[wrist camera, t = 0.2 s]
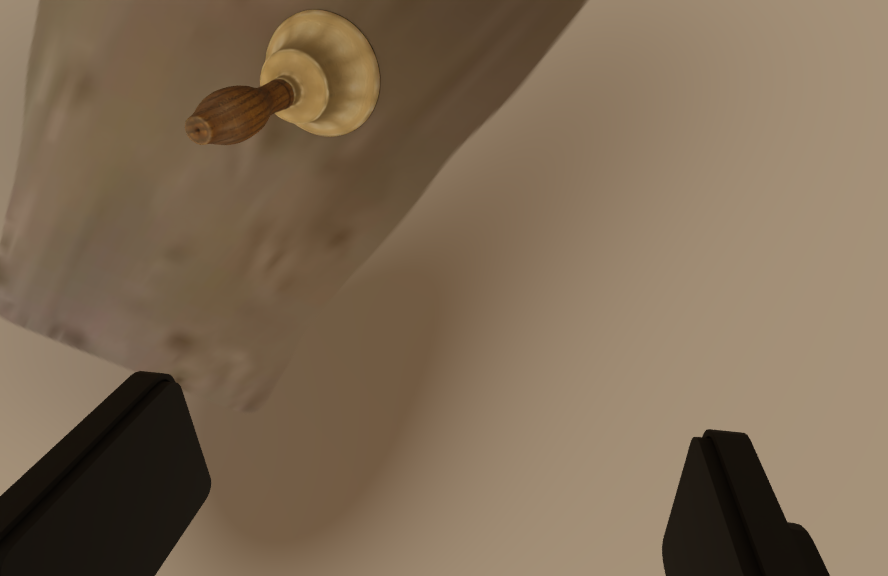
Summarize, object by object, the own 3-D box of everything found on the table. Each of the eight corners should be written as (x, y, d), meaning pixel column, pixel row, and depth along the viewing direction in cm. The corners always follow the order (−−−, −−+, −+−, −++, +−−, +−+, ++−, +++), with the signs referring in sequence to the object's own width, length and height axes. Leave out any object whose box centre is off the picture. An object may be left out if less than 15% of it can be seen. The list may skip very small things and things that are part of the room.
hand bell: (403, 68, 36) (316, 115, 23) (339, 158, 40) (231, 245, 27) (304, -20, 35) (145, -27, 21) (247, 83, 39) (81, 133, 25)
